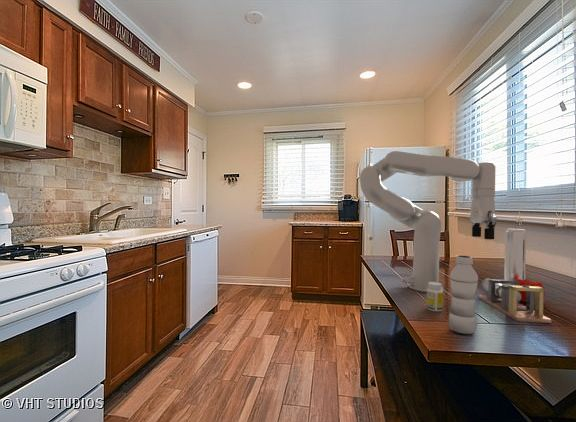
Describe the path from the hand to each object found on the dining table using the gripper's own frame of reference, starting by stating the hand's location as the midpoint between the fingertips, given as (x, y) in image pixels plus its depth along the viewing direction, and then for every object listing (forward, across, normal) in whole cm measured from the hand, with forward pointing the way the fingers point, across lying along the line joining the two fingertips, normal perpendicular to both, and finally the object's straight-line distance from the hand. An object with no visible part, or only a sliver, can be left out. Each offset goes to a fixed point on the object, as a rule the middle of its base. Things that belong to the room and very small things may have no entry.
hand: (482, 237), depth 119 cm
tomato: (+22, +11, +10) cm, 26 cm away
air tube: (+19, +14, -1) cm, 23 cm away
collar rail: (+21, +20, -1) cm, 29 cm away
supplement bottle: (+21, +24, -26) cm, 41 cm away
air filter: (+22, -1, +12) cm, 25 cm away
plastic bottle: (+21, +42, -25) cm, 54 cm away
